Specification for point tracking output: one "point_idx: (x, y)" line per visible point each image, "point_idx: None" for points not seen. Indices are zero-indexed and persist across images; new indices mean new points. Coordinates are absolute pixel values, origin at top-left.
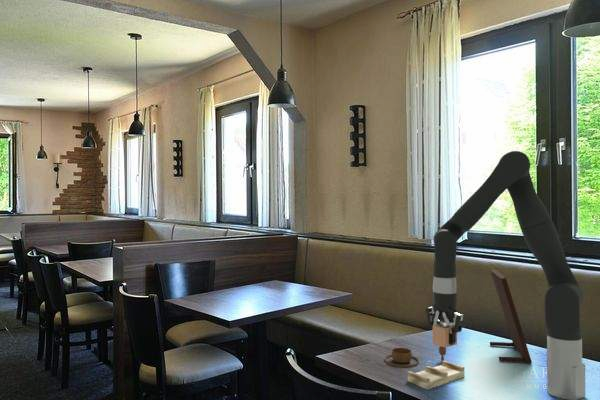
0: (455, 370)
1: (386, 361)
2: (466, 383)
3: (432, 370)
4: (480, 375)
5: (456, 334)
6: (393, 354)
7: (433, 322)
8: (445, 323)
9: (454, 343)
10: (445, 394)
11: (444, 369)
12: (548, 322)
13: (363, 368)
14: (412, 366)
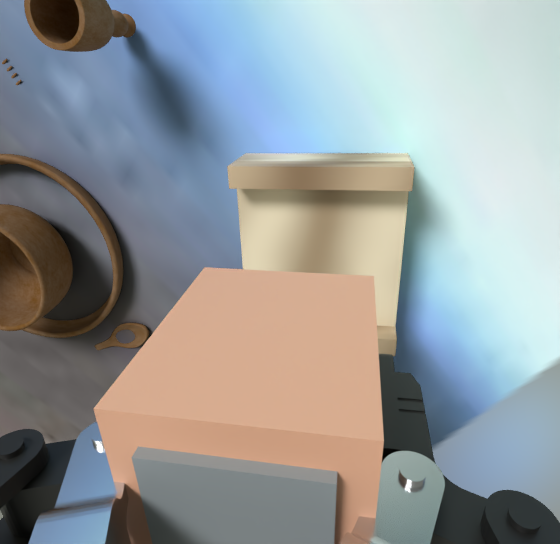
0: (365, 207)
1: (26, 330)
2: (476, 236)
3: None
4: (476, 21)
5: (375, 351)
6: (5, 321)
7: (32, 513)
8: (171, 480)
9: (392, 357)
10: (470, 421)
11: (307, 247)
12: None
13: (51, 423)
14: (122, 268)
